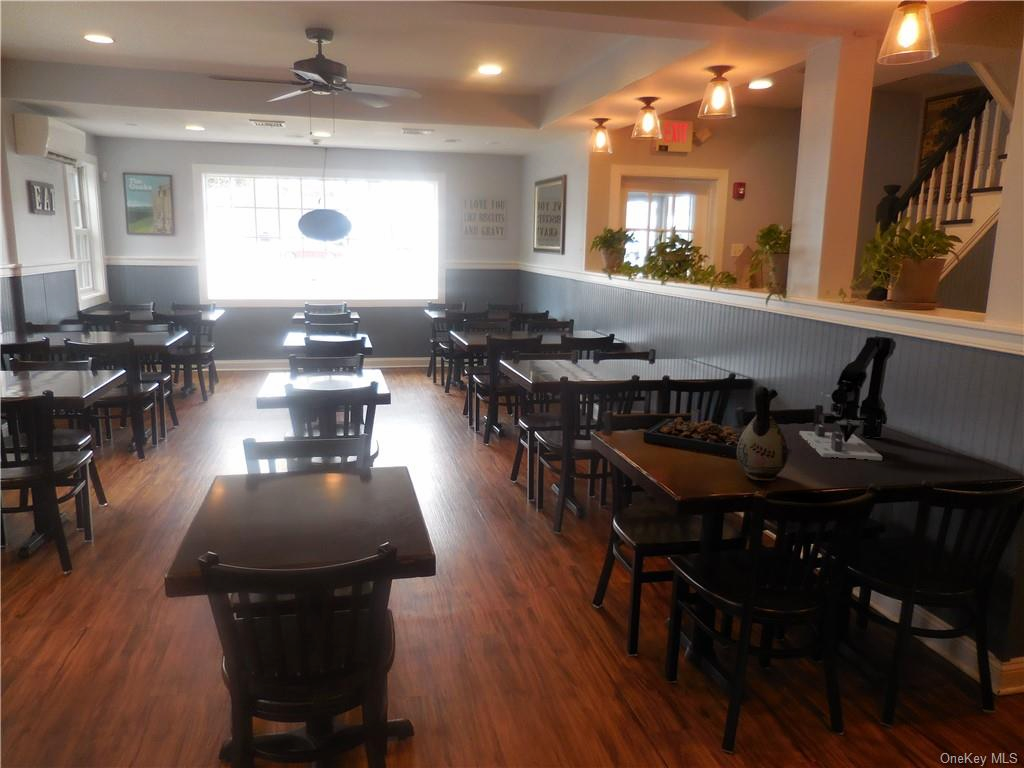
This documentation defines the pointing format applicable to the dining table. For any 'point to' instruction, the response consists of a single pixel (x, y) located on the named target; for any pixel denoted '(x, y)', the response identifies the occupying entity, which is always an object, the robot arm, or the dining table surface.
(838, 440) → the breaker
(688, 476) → the dining table surface
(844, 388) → the robot arm
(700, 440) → the food platter
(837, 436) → the block
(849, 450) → the switch panel
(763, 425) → the ceramic jug
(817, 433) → the block
